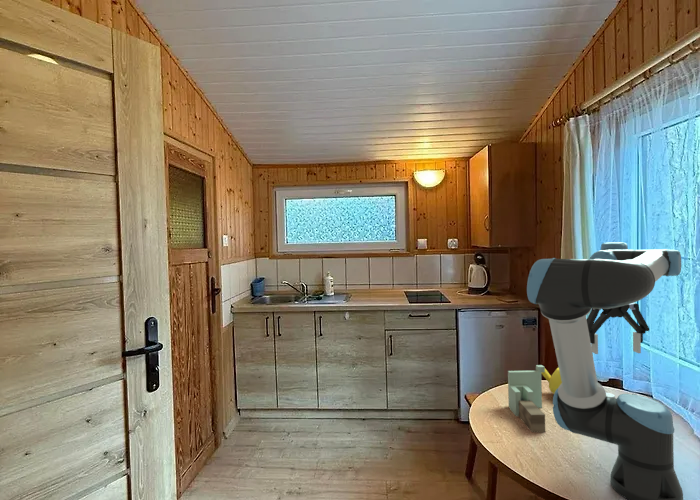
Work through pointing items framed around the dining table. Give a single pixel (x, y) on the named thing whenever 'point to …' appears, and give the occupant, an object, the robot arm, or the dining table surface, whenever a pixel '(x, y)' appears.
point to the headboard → (525, 388)
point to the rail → (532, 416)
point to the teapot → (553, 379)
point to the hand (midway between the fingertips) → (615, 352)
